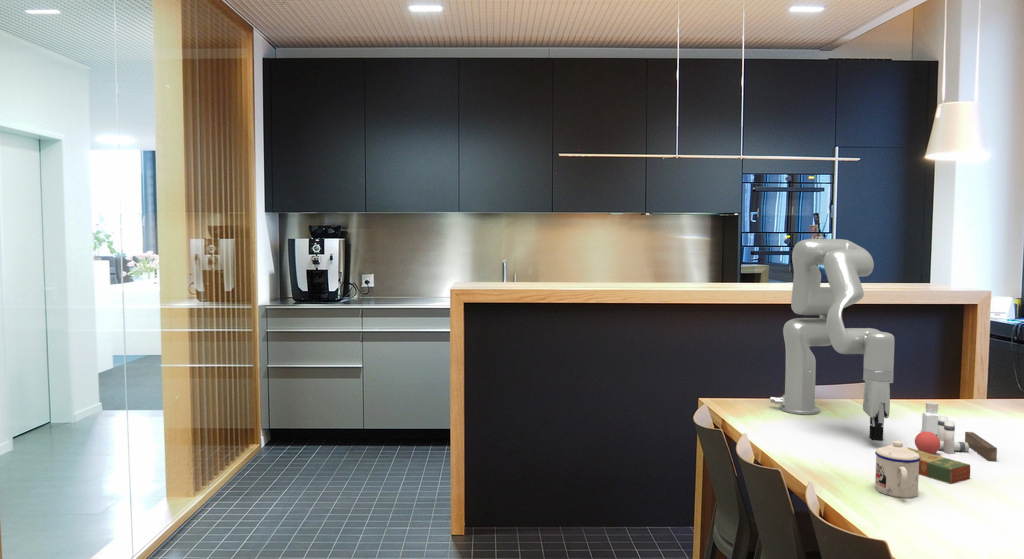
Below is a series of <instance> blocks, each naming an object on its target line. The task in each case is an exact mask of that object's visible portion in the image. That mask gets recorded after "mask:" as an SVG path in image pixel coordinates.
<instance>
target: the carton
mask: <svg viewBox="0 0 1024 559" xmlns="http://www.w3.org/2000/svg"><path fill="white" fill-rule="evenodd" d="M907 448H908V449H909V450H911V451H914V452H916V453H918V454H919V456H920V461H919V476H923V477H925V478H929V479H932V478H933V479H932V480H936V481H939V482H941V483H942V482H943V483H946V484H948V485H952V484H957V483H960V482H964V481H967V480H968V481H969V480H970V479H971V465H970V464H968V463H965V462H961V461H958V460H954V459H951V458H947V457H944V456H941V455H936V454H934V453H933V454H930V453H926V452H923V451H919V450H918V449H917V448H916V449H915V448H911V447H907Z"/></svg>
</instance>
